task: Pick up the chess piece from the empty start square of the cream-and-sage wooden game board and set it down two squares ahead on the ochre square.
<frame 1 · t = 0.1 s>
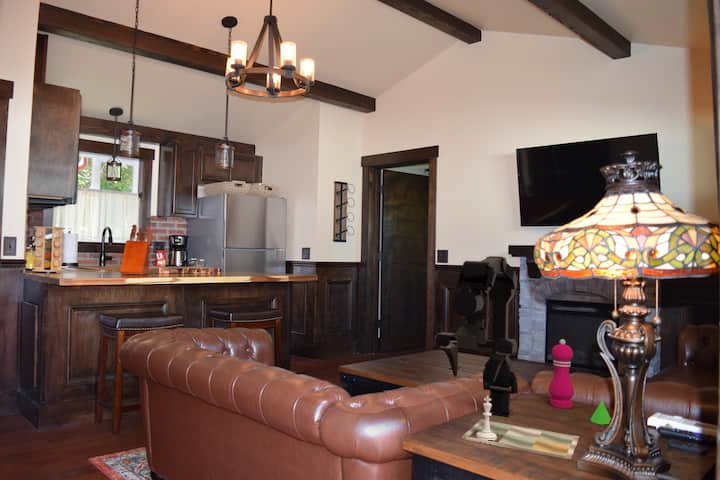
hand: (474, 379, 131), 14 cm above the table, fingers open, 9 cm apart
gemstone: (601, 423, 151), on the table
game board: (521, 438, 133), on the table
pepper mill: (560, 406, 166), on the table
chess piece: (486, 438, 133), resting on game board
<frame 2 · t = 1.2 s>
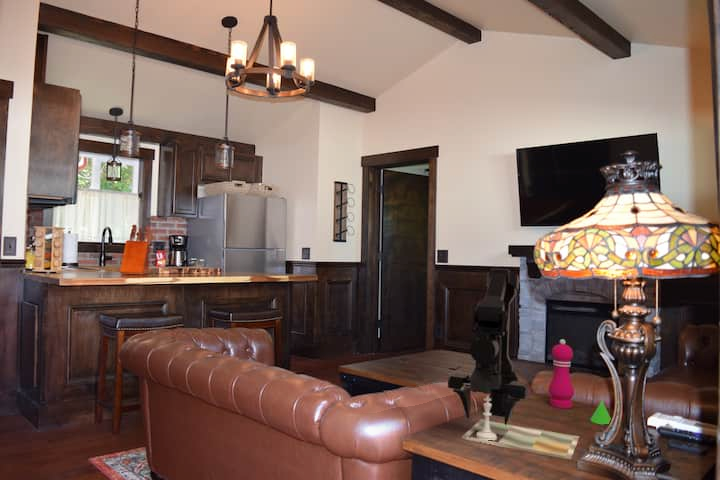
hand: (486, 421, 134), 4 cm above the table, fingers open, 9 cm apart
nothing on the table moved.
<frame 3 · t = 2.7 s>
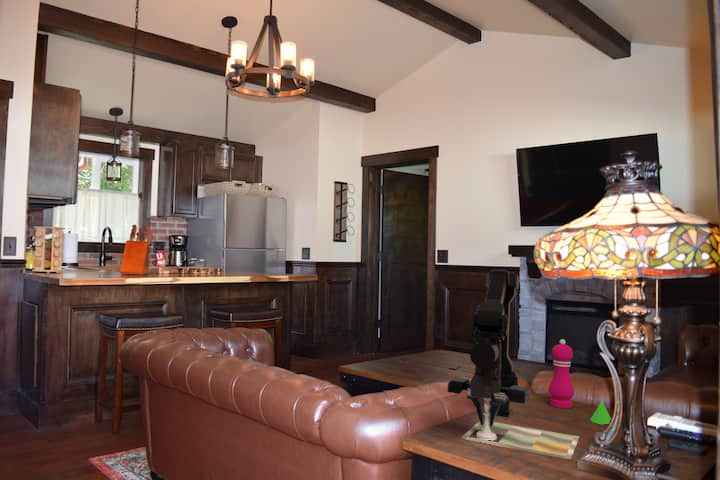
hand: (486, 425, 133), 3 cm above the table, fingers closed on chess piece
chess piece: (486, 438, 133), resting on game board, touching gripper
everything else where it was.
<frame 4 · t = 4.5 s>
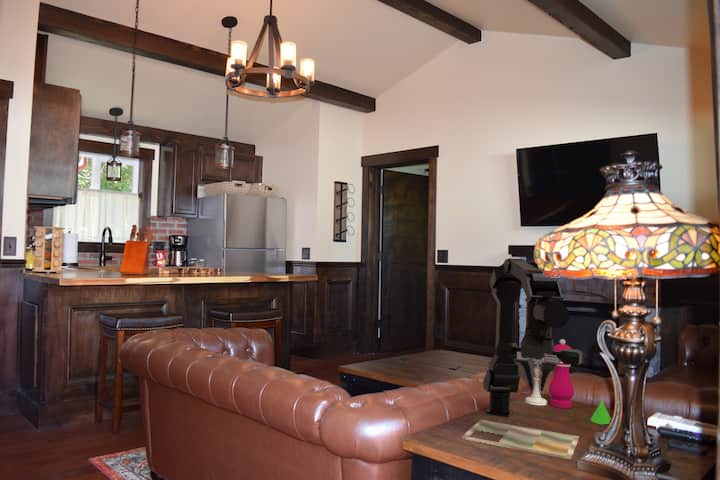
hand: (536, 390, 128), 13 cm above the table, fingers closed on chess piece
chess piece: (535, 403, 128), point 10 cm above the table, touching gripper
everything else where it was.
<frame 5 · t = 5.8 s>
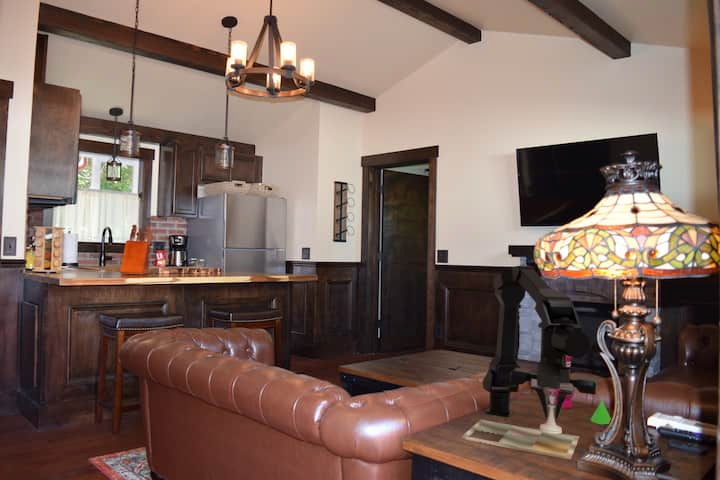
hand: (551, 417, 127), 7 cm above the table, fingers closed on chess piece
chess piece: (550, 431, 127), point 4 cm above the table, touching gripper
everything else where it was.
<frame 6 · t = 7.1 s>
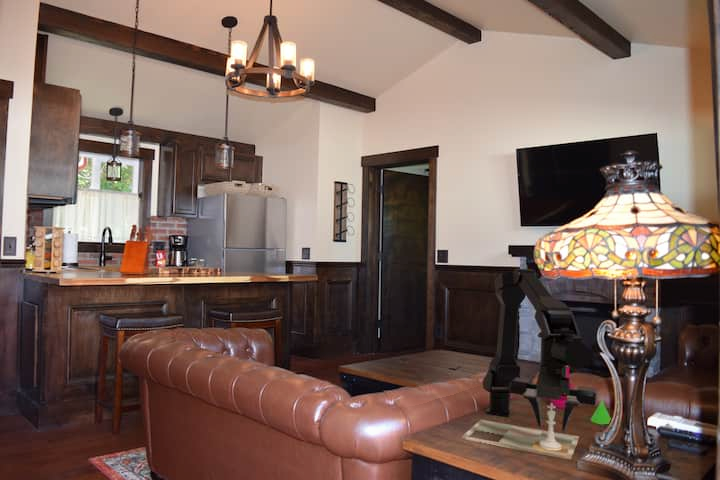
hand: (551, 428, 127), 5 cm above the table, fingers open, 5 cm apart
chess piece: (550, 447, 127), resting on game board
everything else where it was.
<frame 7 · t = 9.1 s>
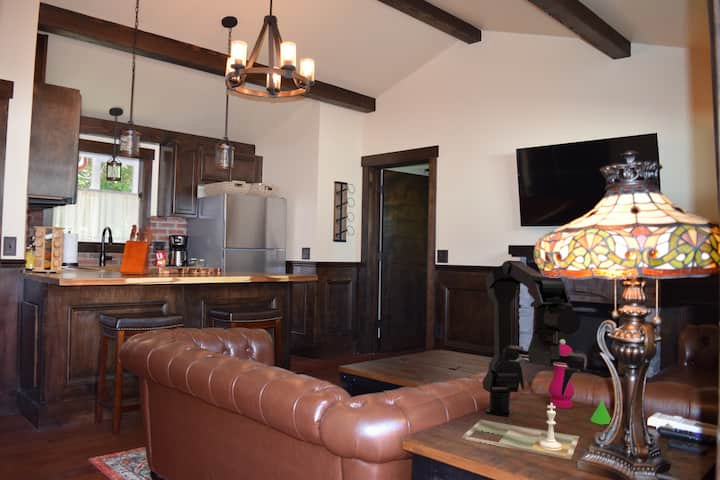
hand: (542, 392, 133), 11 cm above the table, fingers open, 9 cm apart
nothing on the table moved.
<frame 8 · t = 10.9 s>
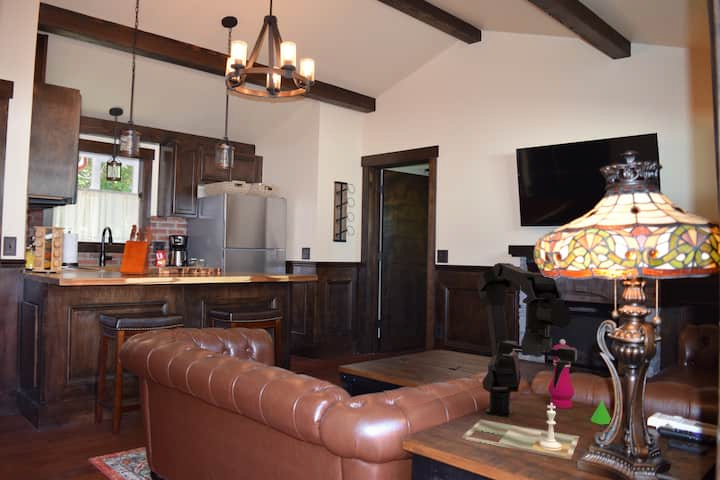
hand: (535, 385, 138), 12 cm above the table, fingers open, 9 cm apart
nothing on the table moved.
at the end: chess piece 0.2 cm from the target spot, resting on game board; chess piece tilted 0°; the gripper is holding nothing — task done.
